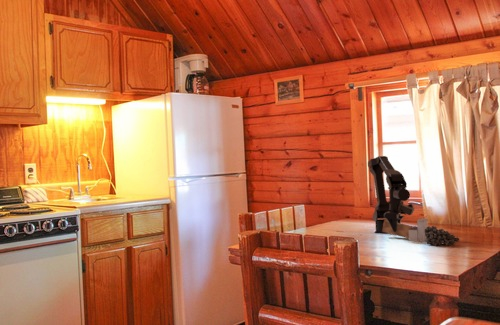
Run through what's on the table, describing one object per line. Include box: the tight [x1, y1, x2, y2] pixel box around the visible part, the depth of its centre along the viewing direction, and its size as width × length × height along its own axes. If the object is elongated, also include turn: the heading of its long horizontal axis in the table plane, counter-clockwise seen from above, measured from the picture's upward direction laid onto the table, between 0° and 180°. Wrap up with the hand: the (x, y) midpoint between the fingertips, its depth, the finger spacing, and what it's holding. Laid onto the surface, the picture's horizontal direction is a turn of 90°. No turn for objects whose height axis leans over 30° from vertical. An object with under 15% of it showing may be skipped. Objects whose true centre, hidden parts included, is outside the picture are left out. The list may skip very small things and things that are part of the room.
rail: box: [382, 220, 417, 239], centre depth 241 cm, size 16×4×6 cm, turn 57°
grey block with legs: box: [408, 217, 429, 242], centre depth 237 cm, size 7×8×10 cm
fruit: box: [424, 225, 460, 247], centre depth 222 cm, size 9×8×15 cm
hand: (396, 231), depth 242 cm, fingers closed on rail, 3 cm apart
